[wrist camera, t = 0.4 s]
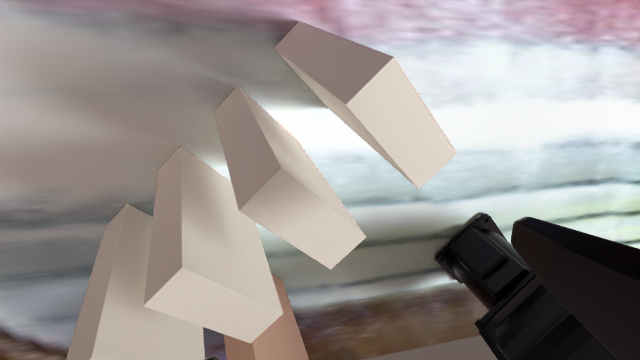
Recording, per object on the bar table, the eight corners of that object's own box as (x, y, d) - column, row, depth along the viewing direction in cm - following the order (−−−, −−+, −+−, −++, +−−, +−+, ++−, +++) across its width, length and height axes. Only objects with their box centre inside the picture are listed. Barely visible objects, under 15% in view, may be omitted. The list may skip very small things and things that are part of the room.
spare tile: (234, 254, 25) (261, 390, 17) (281, 279, 27) (324, 406, 19) (216, 272, 25) (233, 415, 17) (264, 295, 28) (299, 427, 20)
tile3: (238, 85, 19) (281, 168, 11) (297, 139, 22) (366, 237, 14) (214, 111, 19) (238, 210, 11) (275, 161, 22) (330, 269, 14)
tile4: (181, 146, 19) (182, 267, 11) (245, 191, 22) (283, 313, 14) (158, 170, 20) (143, 306, 12) (225, 211, 23) (250, 343, 15)
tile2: (299, 20, 18) (393, 56, 10) (351, 85, 21) (457, 153, 13) (273, 48, 19) (345, 104, 10) (328, 108, 21) (418, 189, 13)
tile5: (127, 203, 20) (91, 357, 12) (196, 239, 23) (206, 384, 15) (105, 226, 20) (56, 392, 12) (177, 259, 23) (176, 411, 15)
